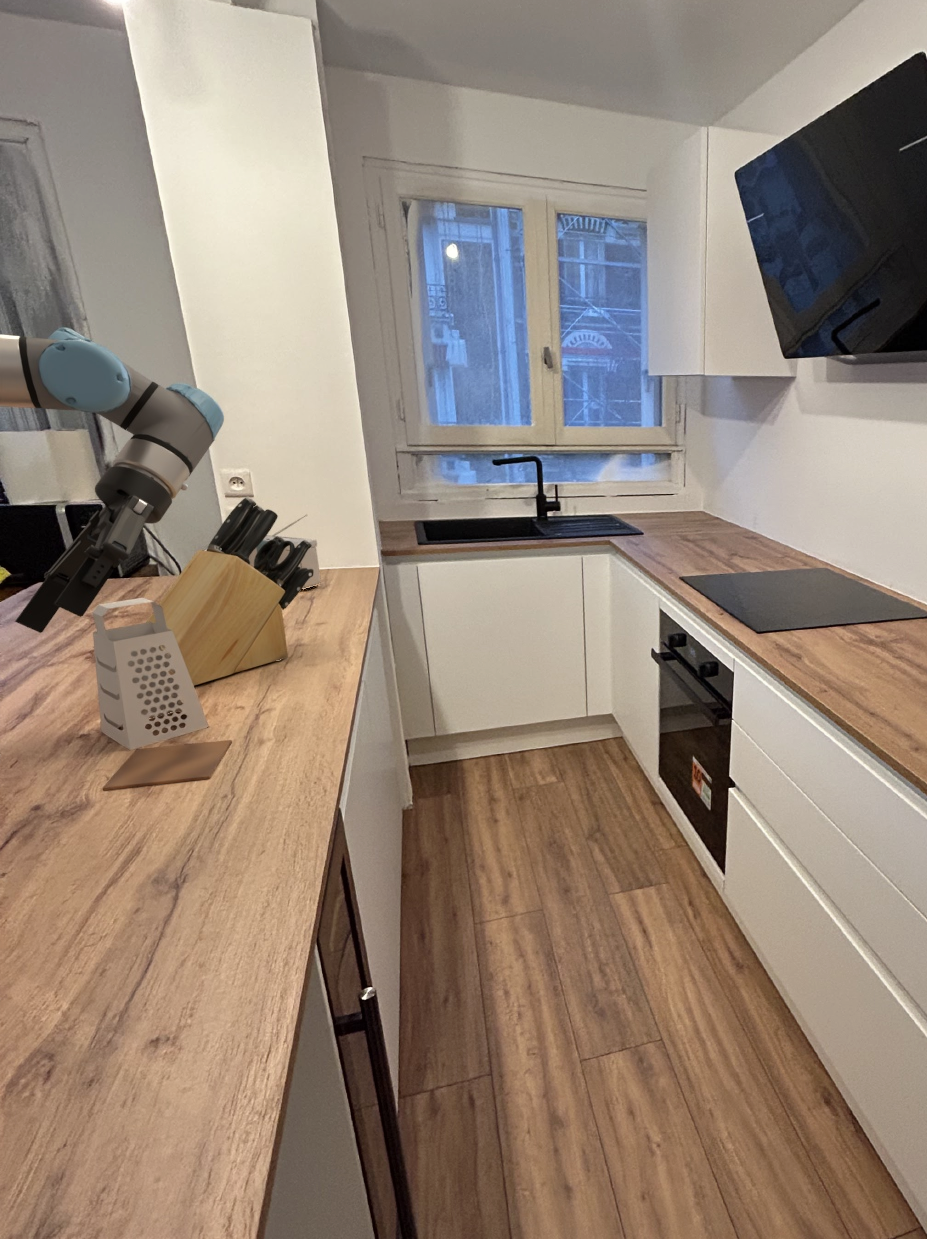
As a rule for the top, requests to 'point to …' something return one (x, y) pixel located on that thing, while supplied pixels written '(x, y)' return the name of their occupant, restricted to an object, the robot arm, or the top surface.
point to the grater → (142, 680)
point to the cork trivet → (169, 764)
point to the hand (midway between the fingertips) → (47, 619)
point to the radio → (307, 562)
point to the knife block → (235, 597)
